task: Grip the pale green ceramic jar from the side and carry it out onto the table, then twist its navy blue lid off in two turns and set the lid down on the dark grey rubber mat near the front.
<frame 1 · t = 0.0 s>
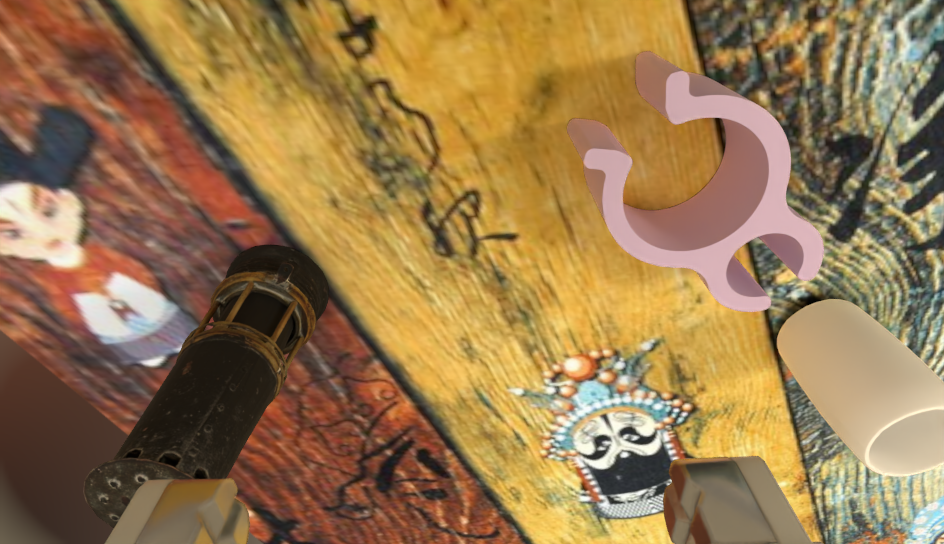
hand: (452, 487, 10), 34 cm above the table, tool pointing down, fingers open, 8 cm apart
cup: (811, 323, 51), on the table
clip: (681, 174, 43), on the table
lantern: (280, 287, 48), on the table
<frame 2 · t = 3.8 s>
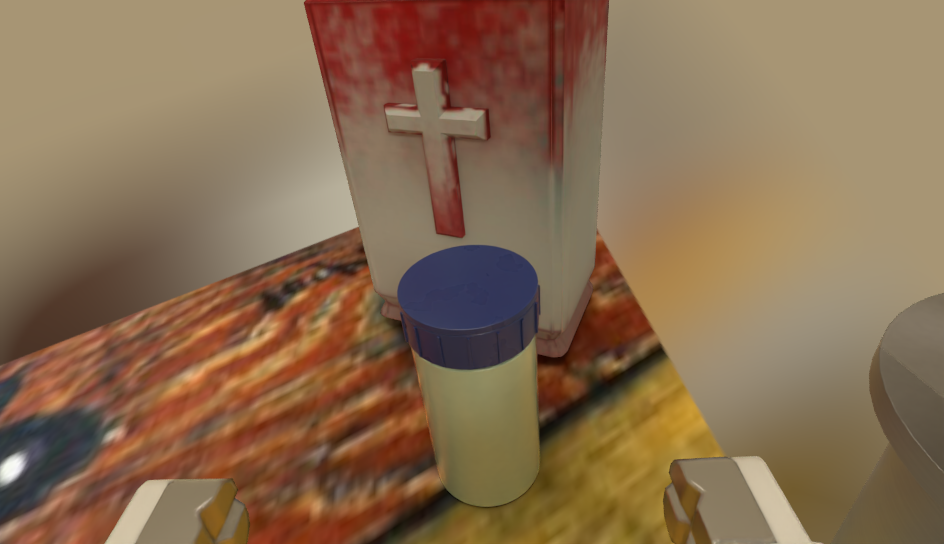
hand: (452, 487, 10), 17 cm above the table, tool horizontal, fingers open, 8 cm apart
red white cross box: (488, 310, 41), on the table
lid: (467, 288, 23), point 12 cm above the table, screwed on, not yet turned
jar: (488, 459, 30), on the table
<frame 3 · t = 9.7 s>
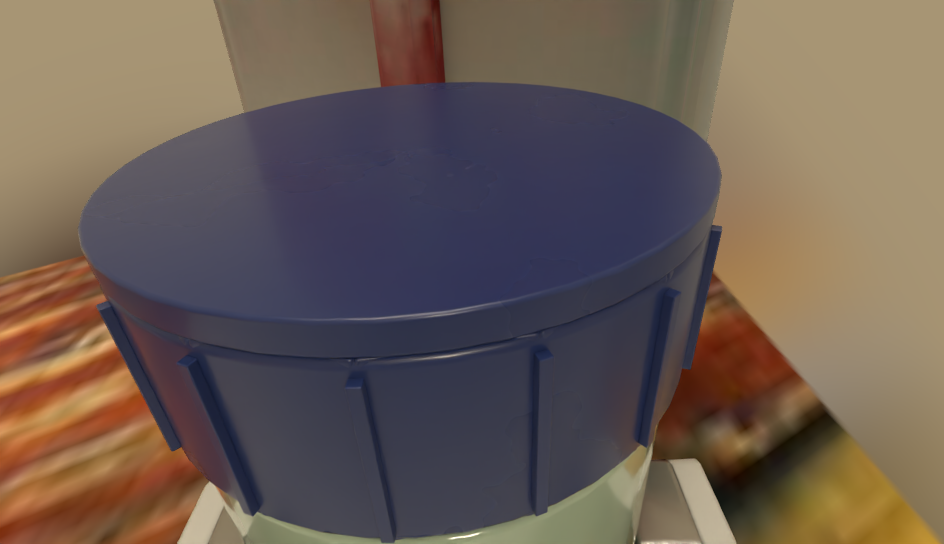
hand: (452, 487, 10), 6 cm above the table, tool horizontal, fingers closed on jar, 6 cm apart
red white cross box: (489, 323, 24), on the table
lid: (413, 173, 6), point 12 cm above the table, screwed on, not yet turned
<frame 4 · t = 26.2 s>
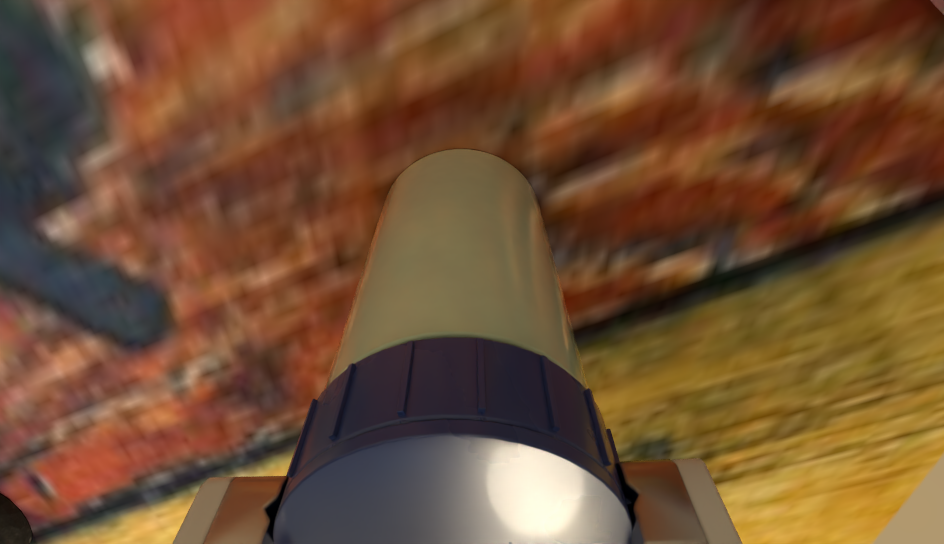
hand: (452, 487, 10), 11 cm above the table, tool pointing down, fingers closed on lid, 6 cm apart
lid: (454, 539, 9), point 12 cm above the table, screwed on, not yet turned, touching gripper
jar: (461, 224, 19), on the table
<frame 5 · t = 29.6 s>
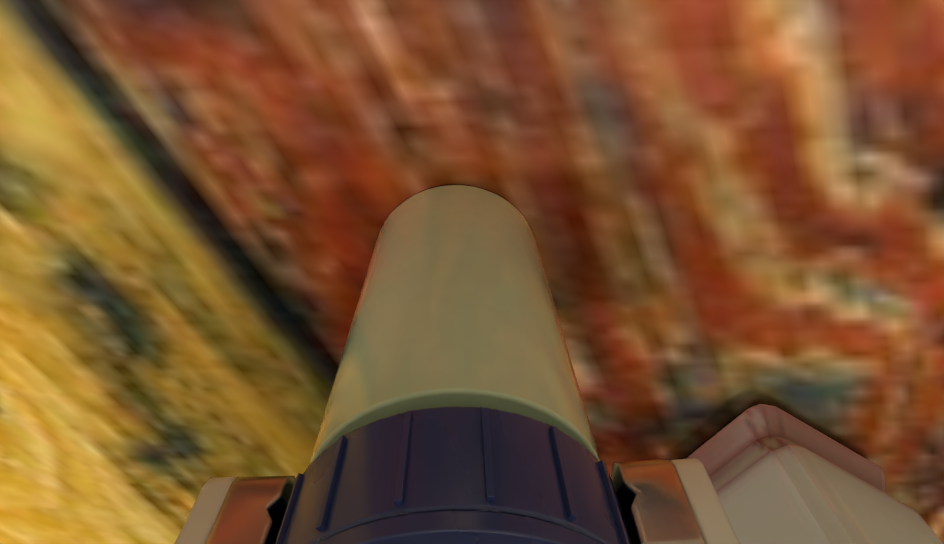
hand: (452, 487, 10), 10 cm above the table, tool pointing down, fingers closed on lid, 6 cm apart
red white cross box: (697, 506, 27), on the table
jar: (456, 261, 19), on the table, touching gripper
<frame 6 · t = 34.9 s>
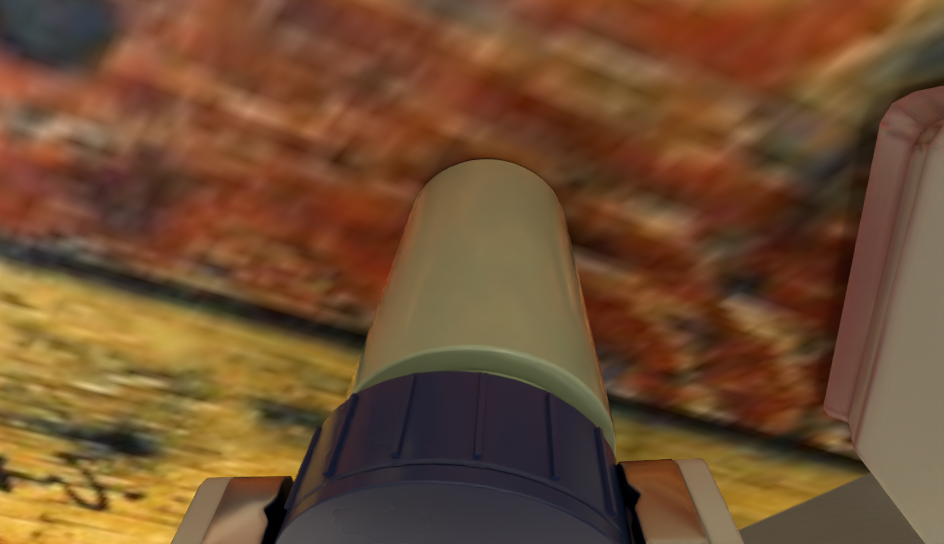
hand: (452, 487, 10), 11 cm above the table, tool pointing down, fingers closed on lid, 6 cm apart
jar: (486, 234, 20), on the table
when the fingers open (1 cm above the table, at t = 45.3 s): lid stays where it is, resting on mat.
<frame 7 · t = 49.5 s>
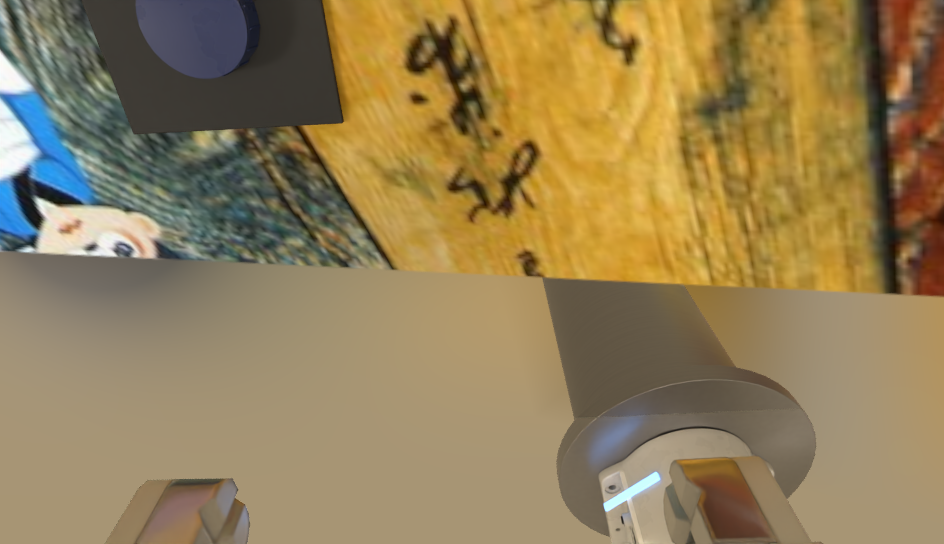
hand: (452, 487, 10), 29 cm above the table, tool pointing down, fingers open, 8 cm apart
mat: (207, 11, 32), on the table
lid: (194, 22, 30), point 2 cm above the table, off its thread, touching mat
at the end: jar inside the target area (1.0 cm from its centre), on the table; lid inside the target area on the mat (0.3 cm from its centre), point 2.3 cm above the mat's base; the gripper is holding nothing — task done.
